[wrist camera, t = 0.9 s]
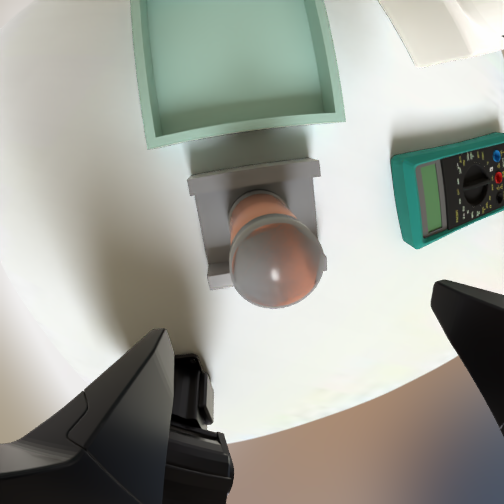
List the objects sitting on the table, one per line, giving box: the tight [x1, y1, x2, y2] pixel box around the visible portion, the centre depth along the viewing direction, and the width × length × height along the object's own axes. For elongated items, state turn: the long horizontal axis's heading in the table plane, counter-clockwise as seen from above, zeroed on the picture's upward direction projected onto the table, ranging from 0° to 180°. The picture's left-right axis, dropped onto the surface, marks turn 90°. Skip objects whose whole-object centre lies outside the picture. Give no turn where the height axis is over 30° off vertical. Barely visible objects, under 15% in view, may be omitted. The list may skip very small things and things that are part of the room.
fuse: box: [228, 189, 324, 309], centre depth 17 cm, size 4×4×8 cm
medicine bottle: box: [378, 0, 504, 68], centre depth 10 cm, size 7×7×12 cm
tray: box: [130, 0, 346, 149], centre depth 15 cm, size 12×12×2 cm
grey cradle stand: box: [187, 158, 327, 290], centre depth 20 cm, size 8×7×2 cm
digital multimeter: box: [391, 132, 504, 249], centre depth 20 cm, size 7×15×3 cm, turn 108°
